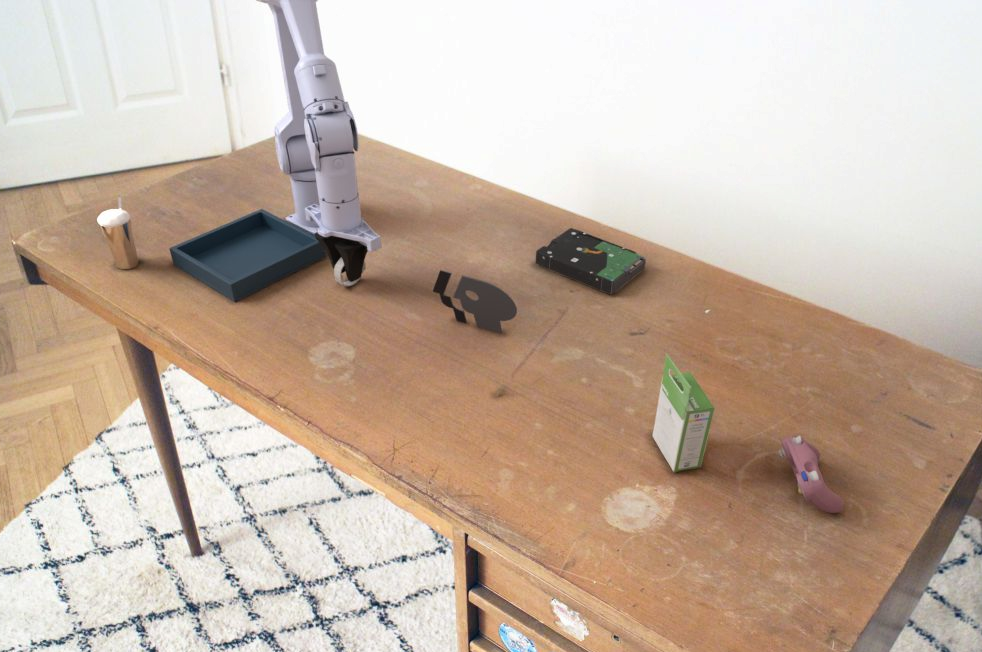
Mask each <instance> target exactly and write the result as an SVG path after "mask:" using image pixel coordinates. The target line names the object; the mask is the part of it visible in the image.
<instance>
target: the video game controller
mask: <svg viewBox="0 0 982 652" xmlns="http://www.w3.org/2000/svg"><path fill="white" fill-rule="evenodd" d="M780 441H781V447H782V448H781V449H779V450H778V454H779V457H780V458H781V459H782V460H784V459H786V460H787V461H789V464H790V466H791V469H792V470H793V473H794V476H795V479H796V480H797V486H798V488H797V491H798V494H799V495H801V496H802V495H803V498H804V500H805V501H806V502H807V503H809V504H811V505H812V506H813V507H815V508H816V509H818V510H820V511H822V512H825V513H830V514H837V513H839V512H840V511H842V510H843V508H844V501H843V499H842V498H841V497H840V496H839V495H837V494H836V493H834V492H833V491H832V490H831V489H829V488H828V487H827V485H826V483H825V481H824V477H823V474H822V472H821V470H820V468H819V460H820V458H821V452H820V450H819V449H818V447H816V446H814V445H813V444H811V443H809V442H808V441H807V440H806V439H805V438H804V437H803V436H802V435H790V436H786V437H784V438H781V439H780Z"/></svg>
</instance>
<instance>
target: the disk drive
mask: <svg viewBox="0 0 982 652" xmlns="http://www.w3.org/2000/svg"><path fill="white" fill-rule="evenodd" d="M646 260H647V259H646V258H645V256H643V254H641V253H638V252H636V251H634V250H631V249H630V248H626V247H623V246H621V245H618V244H615V243H613V242H610V241H608V240H606V239H603V238H600V237H597V236H594V235H592V234H590V233H587V232H584V231H582V230H579V229H576V228H573V227H570V228H568V229H567V230H565V231H564V232H562V233H561V234H559V235H558V236H556V237H555V238H554V239H552V240H551V241H550V242H549V243H548V245H546V246H545V245H543V246H542V247H540V248H538V249H537V250H536V251H535V264H536V265H538V266H539V267H542V268H544V269H546V270H549V271H551V272H554V273H555V274H559V275H561V276H563V277H567V278H568V279H571V280H575V282H576V281H577V282H578V283H581V284H583V285H586V286H588V287H591V288H593V289H595V290H598V291H600V292H603V293H606V294H610V295H613V294H615V293H616V292H618V291H619V290H620V289H622V288H623V287H624V286H625V285H626V284H628V283H629V282H630V281H632V280H633V279H634V278H635V277H636V276H639V274H640V273H642V272H643V270H645V267H646Z"/></svg>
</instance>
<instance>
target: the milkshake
mask: <svg viewBox="0 0 982 652" xmlns="http://www.w3.org/2000/svg"><path fill="white" fill-rule="evenodd" d="M117 203H118V204H117V205H118V208H110V209H107V210H105V211H102V212H101V213H100V214H99V215H98V217H97V218H96V221H97V223H98V225H99V228H100V230H101V232H102V234H103V236H104V239H105V241H106V243H107V245H108V247H109V250H110V253H111V255H112V258H113V260H114V262H115V264H116V267H117V268H118V269H120V270H130V269H134V268H136V267H137V266H138V265H139V258H138V253H137V247H136V243H135V238H134V232H133V227H132V226H133V225H132V220H131V216H130V213H129V212H128V211H126V210H125V209H123V207H122V197H121V196H118V197H117Z"/></svg>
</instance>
